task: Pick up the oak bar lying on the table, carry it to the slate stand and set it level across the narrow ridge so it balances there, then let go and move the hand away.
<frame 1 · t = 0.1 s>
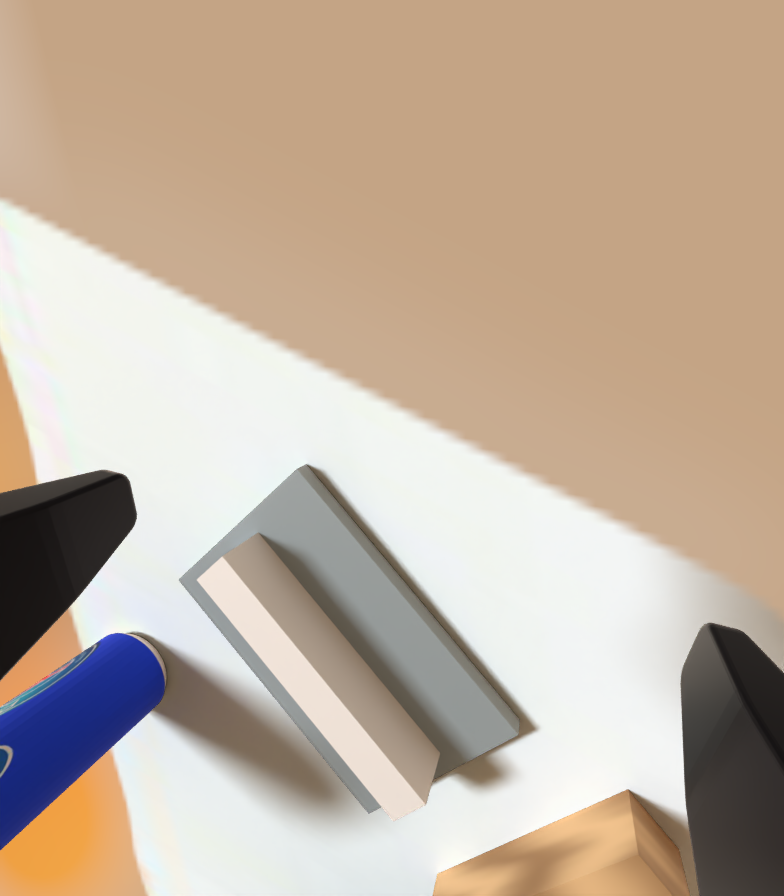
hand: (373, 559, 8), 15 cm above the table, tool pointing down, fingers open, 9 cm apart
oak bar: (548, 857, 26), on the table
beverage can: (139, 664, 32), on the table
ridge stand: (342, 640, 27), on the table
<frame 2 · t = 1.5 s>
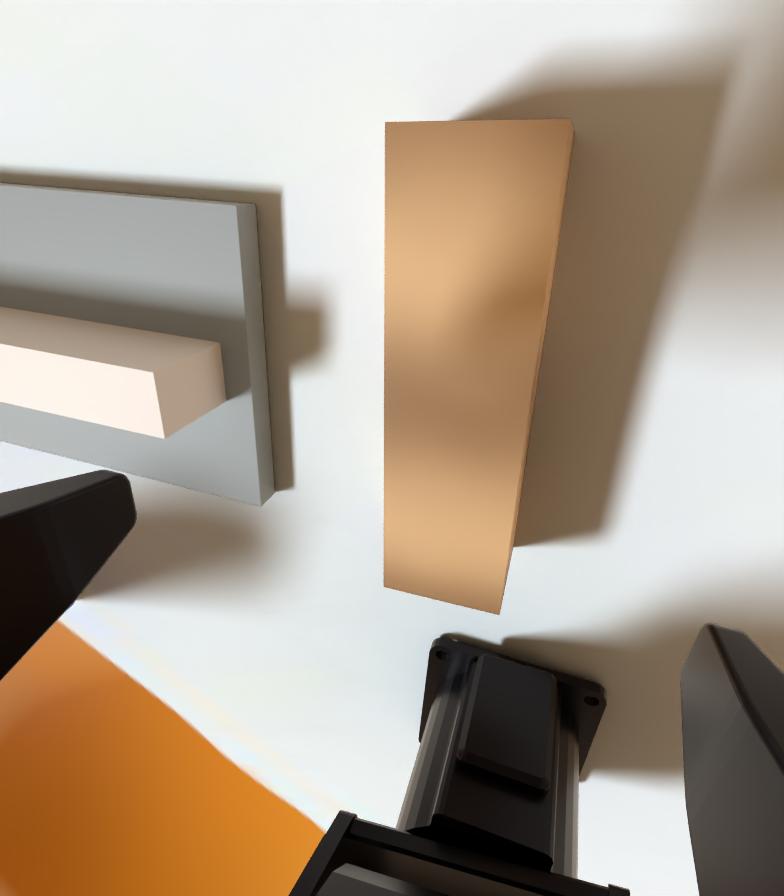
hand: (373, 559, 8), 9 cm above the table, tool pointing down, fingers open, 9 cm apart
oak bar: (478, 369, 15), on the table
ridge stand: (77, 335, 19), on the table
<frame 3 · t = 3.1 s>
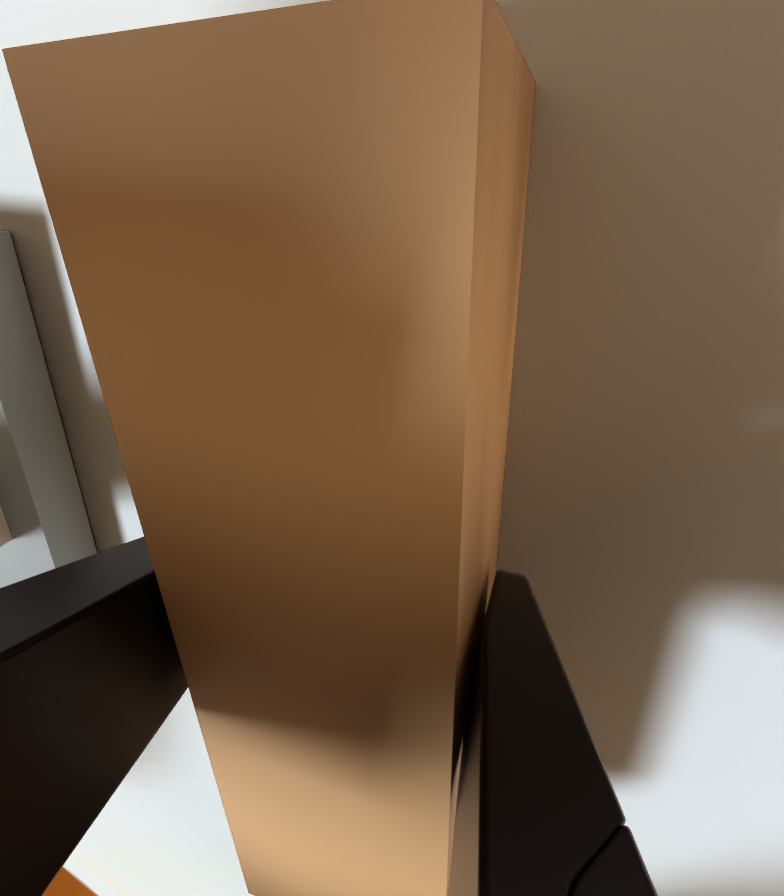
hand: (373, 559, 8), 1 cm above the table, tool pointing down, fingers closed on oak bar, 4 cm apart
oak bar: (397, 516, 9), on the table, touching gripper
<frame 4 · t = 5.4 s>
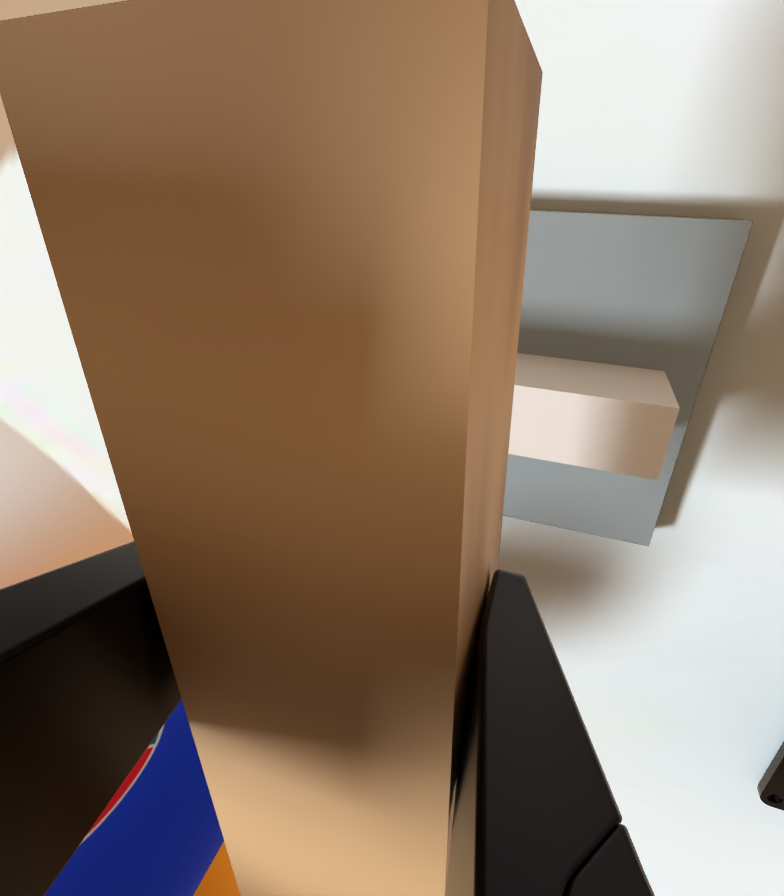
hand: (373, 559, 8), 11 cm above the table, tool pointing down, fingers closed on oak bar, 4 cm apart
oak bar: (395, 517, 9), point 10 cm above the table, touching gripper
beverage can: (302, 596, 26), on the table
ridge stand: (435, 363, 18), on the table
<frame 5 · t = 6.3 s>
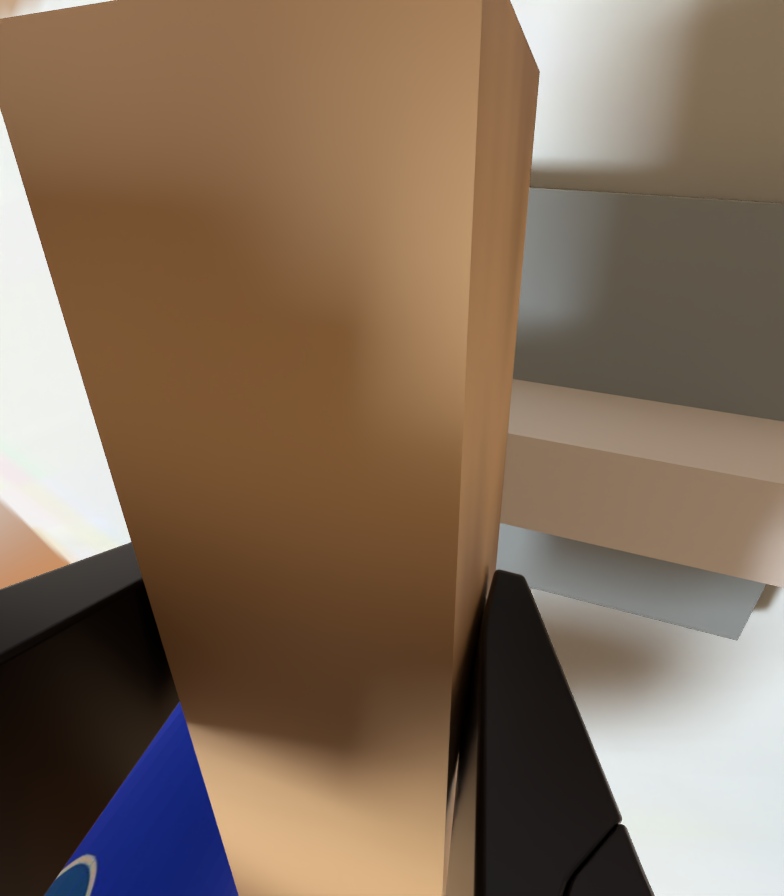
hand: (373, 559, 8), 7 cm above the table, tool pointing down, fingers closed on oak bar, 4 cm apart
oak bar: (393, 516, 9), point 6 cm above the table, touching gripper
beverage can: (285, 657, 22), on the table
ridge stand: (461, 394, 14), on the table
when the fingers open (6 cm above the table, at t = 7.2 s): oak bar stays where it is, resting on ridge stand.
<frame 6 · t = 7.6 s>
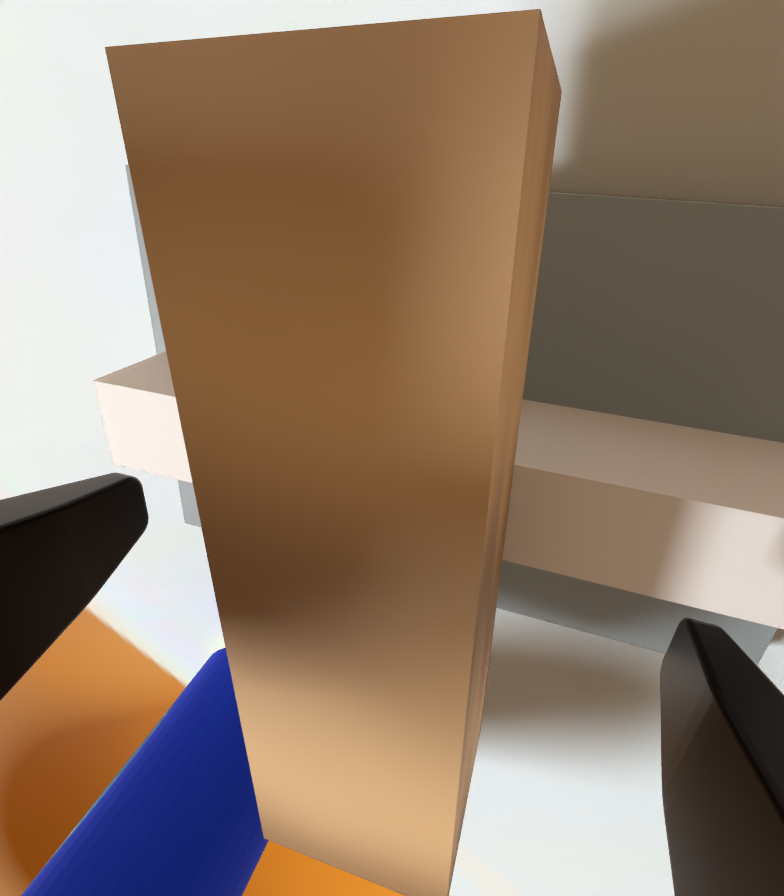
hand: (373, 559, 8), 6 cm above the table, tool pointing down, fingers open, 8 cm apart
oak bar: (412, 489, 9), point 4 cm above the table, touching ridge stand
beverage can: (274, 679, 21), on the table
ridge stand: (455, 411, 13), on the table
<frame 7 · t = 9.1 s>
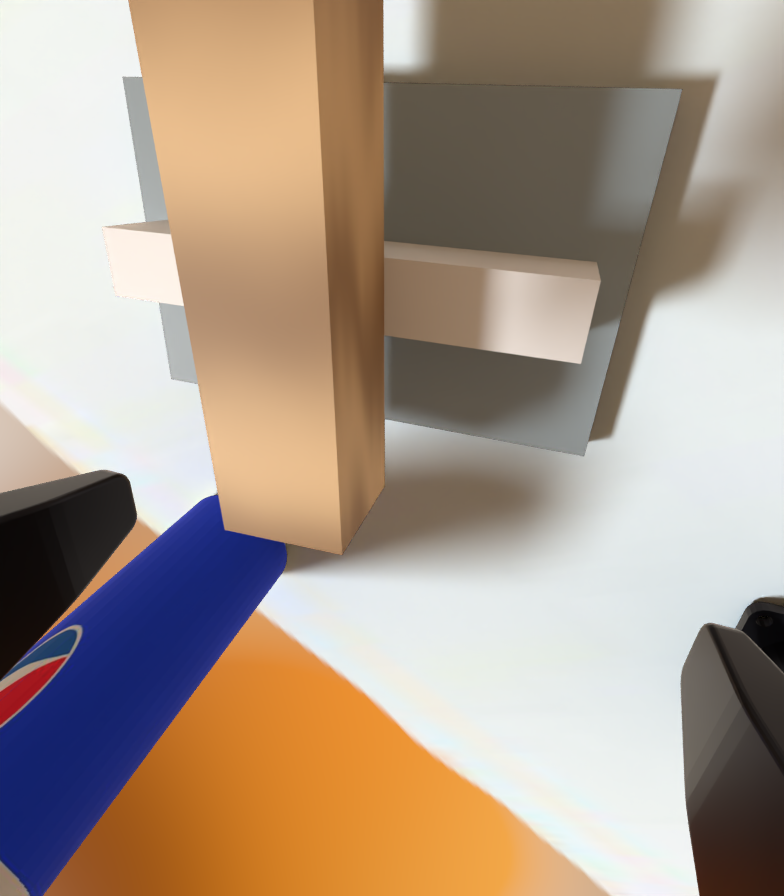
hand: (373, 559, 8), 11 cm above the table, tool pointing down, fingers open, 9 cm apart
oak bar: (322, 287, 14), point 4 cm above the table, touching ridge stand
beverage can: (247, 531, 25), on the table
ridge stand: (370, 267, 17), on the table
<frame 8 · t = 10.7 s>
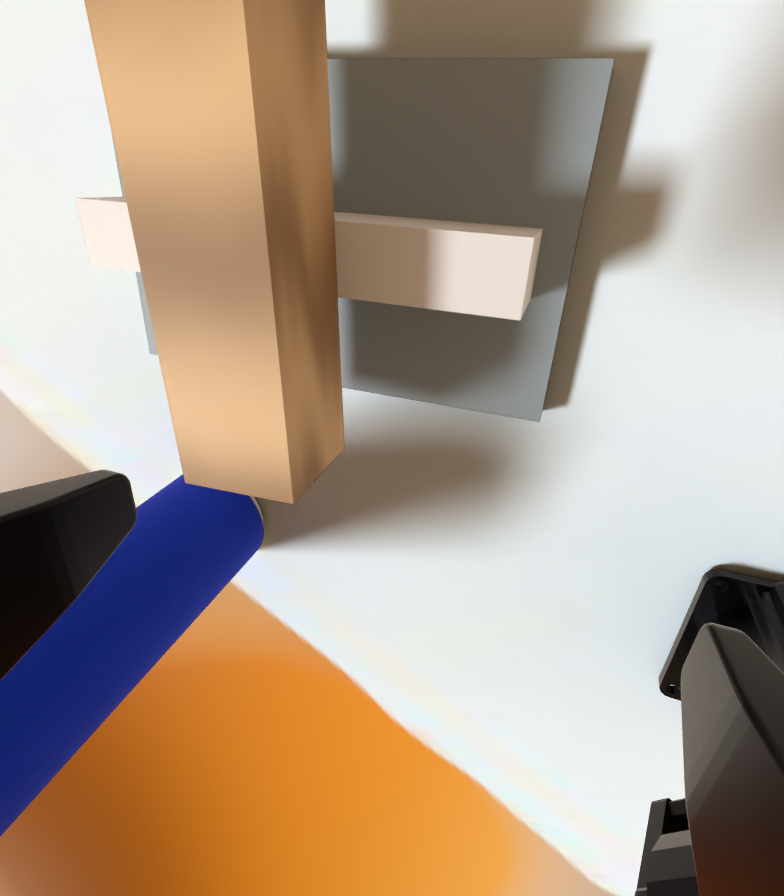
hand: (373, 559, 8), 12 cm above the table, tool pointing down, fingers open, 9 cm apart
oak bar: (279, 251, 15), point 4 cm above the table, touching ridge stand
beverage can: (226, 507, 26), on the table
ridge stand: (335, 240, 18), on the table
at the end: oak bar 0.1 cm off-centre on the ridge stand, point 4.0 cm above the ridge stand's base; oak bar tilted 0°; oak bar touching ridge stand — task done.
